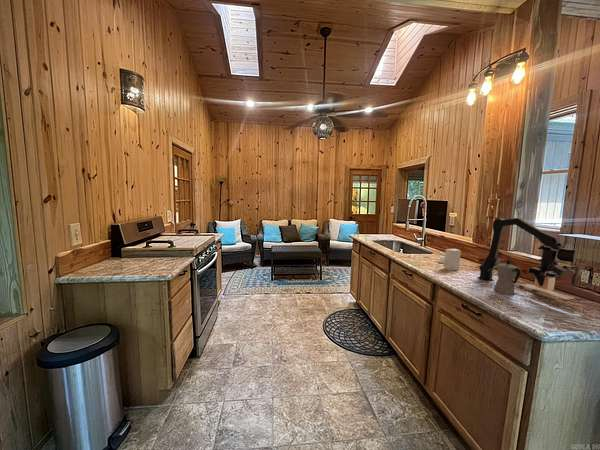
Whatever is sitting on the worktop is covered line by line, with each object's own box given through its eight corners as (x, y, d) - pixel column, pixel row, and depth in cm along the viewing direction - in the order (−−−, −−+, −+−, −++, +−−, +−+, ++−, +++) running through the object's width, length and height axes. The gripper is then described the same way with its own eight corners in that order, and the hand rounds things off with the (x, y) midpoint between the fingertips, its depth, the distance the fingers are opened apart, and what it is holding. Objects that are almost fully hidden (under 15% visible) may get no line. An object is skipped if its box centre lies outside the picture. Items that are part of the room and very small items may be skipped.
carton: (547, 290, 144) (549, 278, 144) (534, 286, 151) (536, 274, 150) (553, 290, 146) (555, 277, 145) (540, 286, 152) (542, 274, 151)
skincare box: (452, 268, 197) (455, 248, 195) (459, 270, 191) (461, 250, 189) (443, 268, 195) (445, 248, 193) (449, 270, 189) (451, 250, 188)
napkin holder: (460, 265, 208) (461, 258, 207) (452, 266, 202) (453, 259, 202) (442, 260, 221) (442, 254, 220) (433, 262, 215) (434, 255, 214)
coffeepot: (487, 287, 156) (491, 257, 154) (503, 288, 156) (507, 258, 154) (507, 297, 141) (512, 264, 139) (525, 298, 141) (530, 265, 139)
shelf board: (555, 302, 137) (555, 296, 137) (512, 287, 158) (512, 282, 158) (574, 300, 141) (575, 294, 140) (530, 285, 162) (531, 281, 161)
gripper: (552, 262, 136) (548, 292, 138) (578, 261, 141) (574, 290, 142) (529, 257, 147) (525, 284, 149) (554, 256, 151) (550, 283, 153)
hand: (544, 285), depth 148 cm, fingers closed on carton, 4 cm apart
